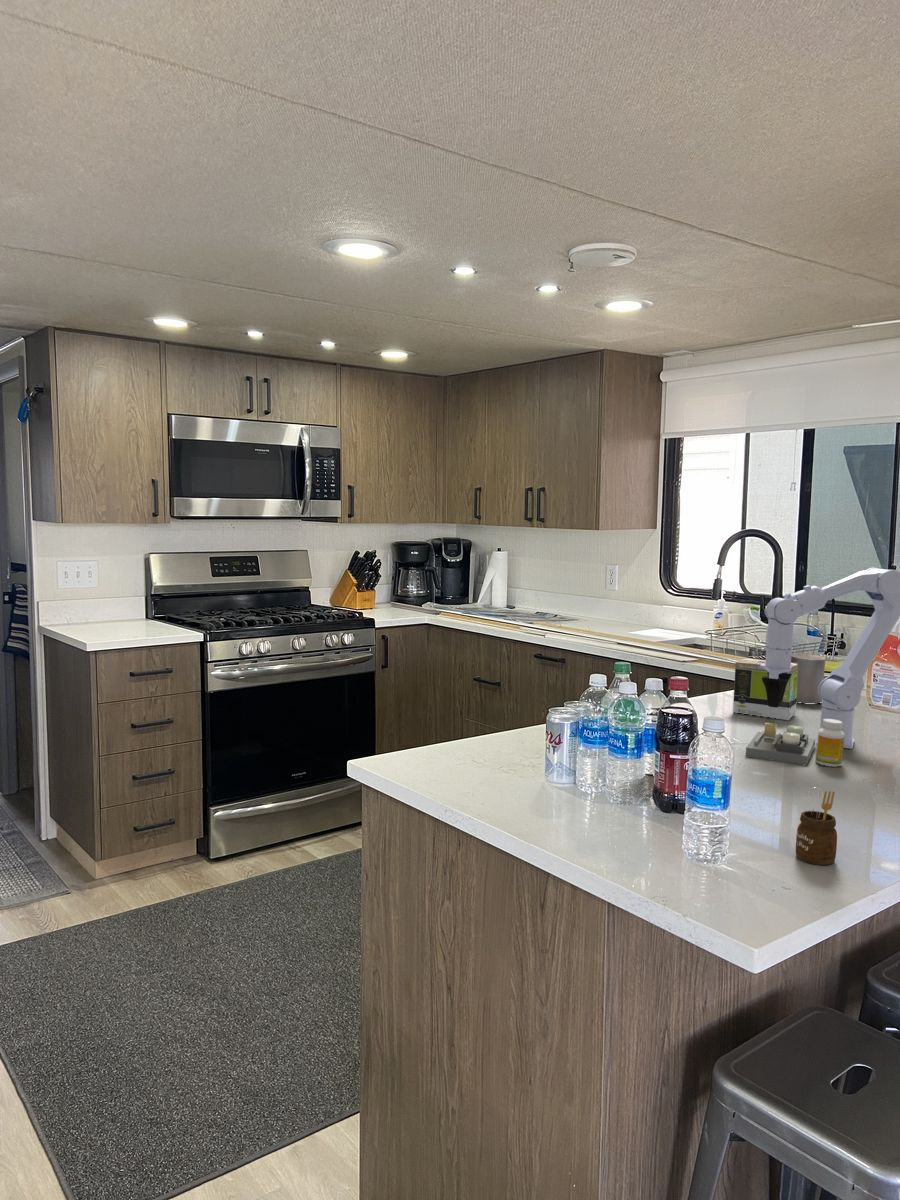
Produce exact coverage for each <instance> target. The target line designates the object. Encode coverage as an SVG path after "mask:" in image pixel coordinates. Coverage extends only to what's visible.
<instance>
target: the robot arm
mask: <svg viewBox="0 0 900 1200" xmlns="http://www.w3.org/2000/svg"><path fill="white" fill-rule="evenodd" d="M802 588H803V589H802V590H797V591H796V592H793V593H790V592H789V593H785V594H784V597H783V598H782V597H775V598H772V599H771V600H770V601H769V602H768V603H767V604H766V607H765V608H764V614H765V616H766V618H767V622H768V623H767V634H766V635H767V637H766V651H765V660H766V662H765V664H761V665H760V668H764V669H766V670H767V671H768V672H767V674H768V676H763V677H762V681H763V683H764V685H765V689H766V694H767V701H768V706H769V707H776V708H778V705H779V702H782V700H783V697H784V693H785V689H786V685H787V683H788V681H789V679H790V677H791V675H792V673H790V672H789V671H791V655H792V650H793V637H794V623H795V622H796V621H797V620H798V618H800V617H803V616H805V615H807V614H811V613H813V612H816V611H818V610H821V609H824V607H825V606H826V604H827V602H828V601H831V600H833V599H834V600H835V599H836V598H840V597H842V596H844V595H849V594H852V593H854V592H857V591H863V592H864V593H865V594H866V595H867V596H868V597H869V599H870V600H871V602H872V604H873V608H874V611H873V613H872V615H871V617H870V618H869V619H868V621H867V623H866V625H865V626H864V628H863V630H862V631H861V633H860V634H859V636H858V637H857V639H856V641H855V642H854V644H853V646H852V647H851V649H850V650H849V652H848V654H847V655H846V657H845V659H844V660H843V662H842V663H841V665H839V666H838V667H836V668H835V669H833V670H832V671H830V673H829V675H828V676H827V677H826V678H825V677H824V680H822V681H821V683H820V684H819V687H818V693H819V696H820V697H821V698H822V703H821V711H820V712H821V713H820V723H819V724H820V726H819V730H820V729H822V728H823V725H822V724H823V719H834V720H839V721H841V722H842V729H841V731H842V732H843V733H844V745H843V749H848V750H849V749H851V750H852V749H853V747H854V744H855V739H854V738H853V730H854V729H853V726H854V717H855V716H854V715H855V707H856V706H858V705H859V703H860V701H861V695H862V691H863V689H864V688H865V682H864V675H865V674H866V672H867V671H868V670H869V667H870V666H871V664H872V663H873V661H874V660H875V658H876V656H877V654H878V653H879V651H880V649H882V648H881V647H882V646H883V645H884V643H885V641H886V640H887V639H888V637H889V635H890V633H891V632H892V630H893V629H894V628H895V625H896V624H897V622H898V620H899V619H900V571H899V570H896V569H885V568H884V569H883V568H878V567H870V568H867V569H866V570H865V569H864V570H860V571H857V572H855V573H853V574H851V575H848V576H846V577H844V578H841V579H839V580H837V581H834V582H832V583H829V584H828V585H825V586H823V587H818V586H816V585H809V584H807V585H804V586H803V587H802ZM815 745H817V741H815Z"/></svg>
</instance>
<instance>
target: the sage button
mask: <svg viewBox="0 0 900 1200" xmlns="http://www.w3.org/2000/svg"><path fill="white" fill-rule="evenodd" d="M804 729H805V728H804V727H802V726H798V725H787V727H786V732H788V733H796V734H799V735H800V738H803V734H805V733H804V732H805V730H804Z"/></svg>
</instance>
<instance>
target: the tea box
mask: <svg viewBox="0 0 900 1200" xmlns="http://www.w3.org/2000/svg"><path fill="white" fill-rule="evenodd" d="M765 662H766V659H764V660H763V659H755V658H753V659H752V658H743V659H742V658H741V659H740V660H737V661H735V666H734V687H733V703H732V704H733V708H732V713H733V712H735V713H734V714H737V713H743V714H742V715H744V714H751V715H750V716H752V715H757V716H756V717H760V716H763V717H762V718H767V717H770V718H769V719H775V718H776V720H784V721H789V720H791V719H792V718H793V717H795V716H796V710H797V703H796V701H797V681H798V664H797V663H791V671H789V672H790V673H792V675H791V677H790V679H789V681H788V683H787V685H786V689H785V693H784V697H783V700H782V702H779V705H778V708H776V707H769V706H768V701H767V694H766V689H765V685H764V683H763V681H762V677H763V676H768V674H767V672H768V671H767V670H766V669H764V668H760V665H761V664H765ZM794 715H795V716H794ZM792 716H793V717H792ZM791 717H792V718H791ZM790 718H791V719H790Z"/></svg>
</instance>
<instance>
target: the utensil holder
mask: <svg viewBox="0 0 900 1200" xmlns="http://www.w3.org/2000/svg"><path fill="white" fill-rule="evenodd" d="M815 788H816V790H817V791H816V792H817V800H820V798H819V797H820V795H819V790H820V788H819V787H817V786H813V787H811V788H810V789H809V790H808V792H807V798H809V796H810V795H809V794H810V791H811V790H812V792H811V793H814V790H815ZM820 791H821V794H822V795H821V796H822V797H821V798H822V803H821V809H820V811H819V808H820V805H819V804H817V811H816V810H814V809H812V810H811V809H810V808H811V807H810V803H809V802H810V801H807V804H808V807H809V810H805V811H803V812H801V814H800V817H799V821H800V823H799V824H798V826H797V828H796V829H797V830H796V839H795V855H796V857H797V859H799V860H800V861H802V862H804V863H808V864H812V865H817V866H829V865H832V864H834V863H835V861H836V857H837V847H838V833H837V830H836V826H837V819H836V817H835V816H833V815H831V814H829V813H828V811H830V810H832V808H833V803H834V800H835V799H834V797H835V795H836V794H835V791H834V790H833V791H832V792H831V791H830V790H829V791H827V790H826V791H824V793H823V792H822V790H820ZM831 793H832V794H831ZM811 804H812V807H814V802H811ZM822 810H823V811H822Z"/></svg>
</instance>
